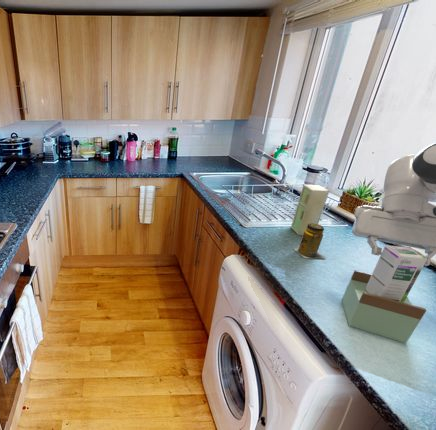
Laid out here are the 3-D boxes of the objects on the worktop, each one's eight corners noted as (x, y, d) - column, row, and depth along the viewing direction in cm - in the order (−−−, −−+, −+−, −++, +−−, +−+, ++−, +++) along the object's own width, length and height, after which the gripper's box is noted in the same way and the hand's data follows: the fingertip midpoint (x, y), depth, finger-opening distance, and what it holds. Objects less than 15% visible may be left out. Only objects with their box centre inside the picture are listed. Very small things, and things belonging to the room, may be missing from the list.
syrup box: (377, 302, 75) (402, 255, 69) (363, 288, 80) (385, 243, 74) (402, 305, 74) (429, 258, 68) (386, 291, 79) (410, 246, 73)
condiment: (293, 248, 115) (301, 221, 110) (314, 249, 115) (323, 222, 110) (303, 258, 108) (313, 230, 103) (326, 259, 108) (337, 231, 103)
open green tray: (392, 313, 82) (409, 282, 78) (406, 343, 73) (426, 310, 68) (341, 299, 88) (354, 269, 83) (348, 325, 78) (363, 293, 73)
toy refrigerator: (288, 227, 132) (301, 183, 124) (305, 228, 131) (320, 185, 123) (296, 235, 125) (310, 190, 116) (314, 236, 124) (330, 191, 116)
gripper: (360, 199, 79) (354, 245, 75) (464, 214, 70) (463, 268, 66) (351, 208, 84) (345, 252, 80) (446, 224, 75) (445, 273, 72)
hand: (399, 259), depth 73 cm, fingers open, 8 cm apart
